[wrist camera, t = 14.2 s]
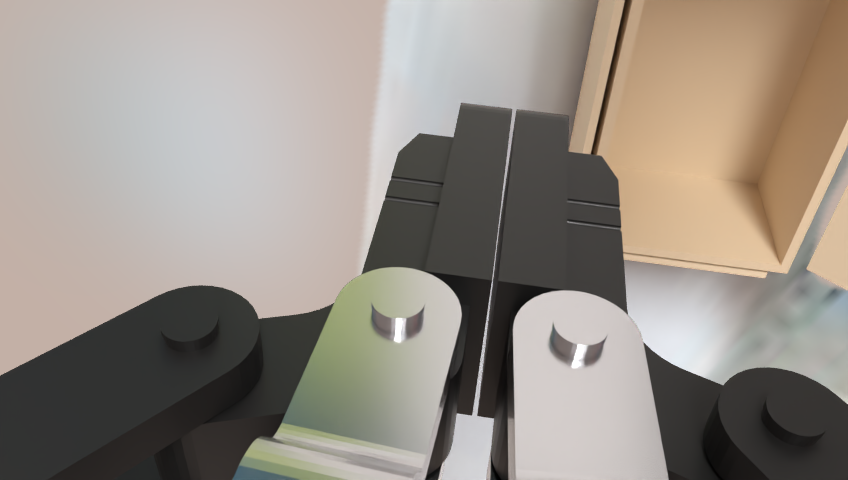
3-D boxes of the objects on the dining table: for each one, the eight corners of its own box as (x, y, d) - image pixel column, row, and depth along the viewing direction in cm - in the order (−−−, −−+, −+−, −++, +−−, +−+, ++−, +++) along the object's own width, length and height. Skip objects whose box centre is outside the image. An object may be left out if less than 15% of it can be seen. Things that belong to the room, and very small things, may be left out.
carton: (649, -257, 36) (663, -220, 30) (930, -233, 35) (1005, -191, 29) (563, 171, 51) (561, 253, 45) (757, 196, 50) (782, 282, 44)
